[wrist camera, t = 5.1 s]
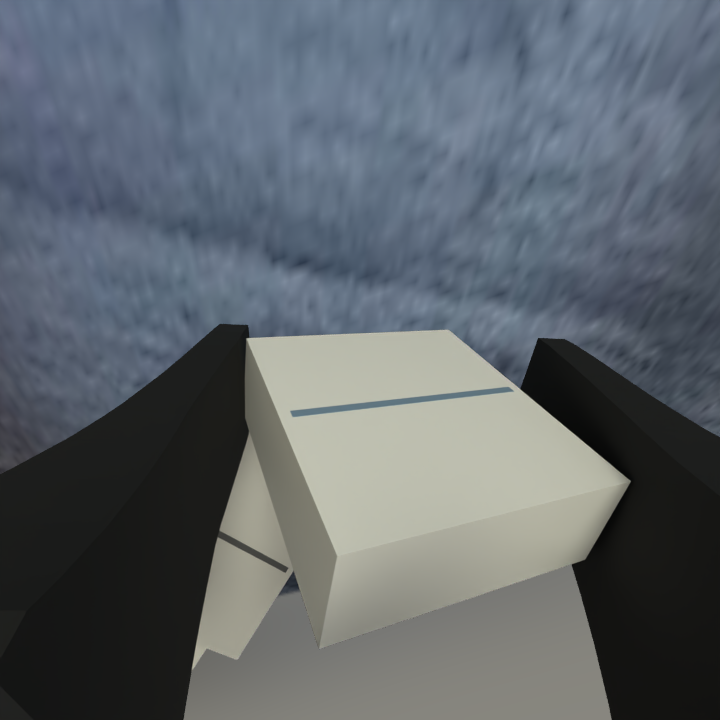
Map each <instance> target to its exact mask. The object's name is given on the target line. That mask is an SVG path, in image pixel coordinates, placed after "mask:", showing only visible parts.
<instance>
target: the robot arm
mask: <svg viewBox="0 0 720 720" xmlns="http://www.w3.org/2000/svg"><path fill="white" fill-rule="evenodd" d="M246 338H249V328H248V325H231V324H219V325H218V326H217V327H216V328H214V329H213V330H212V331H211V332H210V333H209V334H208V335H206V336H205V337H204V338H203V339H202V340H201V341H200V342H198V343H197V344H196V345H195V346H194V347H193V348H192V349H190V350H189V351H188V352H187V353H186V354H185V355H184V356H182V357H181V358H180V359H179V360H178V361H176V362H175V363H174V364H173V365H172V366H170V367H169V368H168V369H167V370H166V371H165V372H163V373H162V374H161V375H160V376H158V377H157V378H156V379H154V380H153V381H152V382H150V383H149V384H148V385H146V386H145V387H144V388H142V389H141V390H140V391H138V392H137V393H136V394H134V395H133V396H132V397H130V398H129V399H128V400H126V401H125V402H124V403H122V404H121V405H119V406H118V407H117V408H115V409H114V410H112V411H111V412H109V413H108V414H106V415H105V416H103V417H102V418H100V419H98V420H97V421H95V422H94V423H92V424H90V425H89V426H87V427H86V428H84V429H82V430H81V431H79V432H77V433H76V434H74V435H72V436H71V437H69V438H67V439H66V440H64V441H62V442H60V443H58V444H56V445H55V446H53V447H51V448H49V449H47V450H45V451H43V452H42V453H40V454H38V455H36V456H34V457H32V458H30V459H29V460H27V461H25V462H23V463H21V464H19V465H17V466H16V467H14V468H12V469H10V470H8V471H6V472H4V473H2V474H0V720H183V719H184V713H185V706H186V700H187V695H188V689H189V683H190V677H191V671H192V666H193V660H194V654H195V648H196V642H197V637H198V632H199V626H200V621H201V616H202V611H203V605H204V600H205V595H206V589H207V585H208V580H209V575H210V570H211V565H212V560H213V555H214V550H215V545H216V542H217V538H218V534H219V530H220V526H221V523H222V520H223V517H224V513H225V510H226V507H227V504H228V501H229V497H230V494H231V491H232V488H233V484H234V481H235V478H236V475H237V472H238V468H239V465H240V462H241V459H242V455H243V452H244V449H245V446H246V442H247V439H248V435H249V429H248V425H247V422H246V419H245V359H246ZM520 390H522V391H523V392H524V393H525V394H526V395H528V396H529V397H530V398H531V399H532V400H534V401H535V402H536V403H537V404H538V405H540V406H541V407H542V408H543V409H544V410H546V411H547V412H548V413H549V414H550V415H552V416H553V417H554V418H555V419H556V420H558V421H559V422H560V423H561V424H562V425H564V426H565V427H566V428H567V429H569V430H570V431H571V432H572V433H573V434H575V435H576V436H577V437H578V438H579V439H581V440H582V441H583V442H584V443H585V444H587V445H588V446H589V447H590V448H591V449H593V450H594V451H595V452H596V453H597V454H599V455H600V456H601V457H602V458H603V459H605V460H606V461H607V462H608V463H609V464H611V465H612V466H613V467H614V468H616V469H617V470H618V471H619V472H620V473H622V474H623V475H624V476H625V477H626V478H628V479H629V480H630V481H631V482H630V484H629V486H628V487H627V489H626V491H625V492H624V494H623V496H622V498H621V499H620V501H619V503H618V504H617V506H616V508H615V510H614V511H613V513H612V515H611V516H610V518H609V520H608V522H607V523H606V525H605V527H604V528H603V530H602V532H601V533H600V535H599V537H598V539H597V540H596V542H595V544H594V545H593V547H592V549H591V551H590V552H589V554H588V556H587V557H586V559H585V560H582V561H580V562H577V563H574V564H572V567H573V570H574V574H575V577H576V581H577V584H578V587H579V590H580V594H581V597H582V601H583V605H584V608H585V612H586V615H587V619H588V622H589V627H590V630H591V634H592V638H593V641H594V645H595V649H596V653H597V657H598V662H599V666H600V670H601V674H602V678H603V683H604V686H605V691H606V695H607V699H608V703H609V708H610V713H611V718H612V720H720V437H718V436H716V435H714V434H713V433H711V432H709V431H707V430H706V429H704V428H702V427H701V426H699V425H697V424H696V423H694V422H692V421H691V420H689V419H687V418H686V417H684V416H683V415H681V414H679V413H678V412H676V411H674V410H673V409H671V408H669V407H668V406H666V405H665V404H663V403H662V402H660V401H659V400H657V399H655V398H654V397H652V396H651V395H649V394H648V393H646V392H645V391H643V390H642V389H640V388H639V387H637V386H636V385H634V384H633V383H631V382H630V381H628V380H627V379H626V378H624V377H623V376H621V375H620V374H618V373H617V372H615V371H614V370H612V369H611V368H609V367H608V366H607V365H605V364H604V363H602V362H601V361H599V360H598V359H596V358H595V357H593V356H592V355H590V354H589V353H587V352H586V351H584V350H582V349H581V348H579V347H578V346H576V345H574V344H573V343H571V342H569V341H567V340H565V339H548V338H538V340H537V343H536V346H535V349H534V352H533V354H532V357H531V360H530V363H529V366H528V369H527V372H526V375H525V377H524V380H523V383H522V386H521V389H520Z"/></svg>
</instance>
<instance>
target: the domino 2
mask: <svg viewBox="0 0 720 720" xmlns="http://www.w3.org/2000/svg"><path fill="white" fill-rule="evenodd" d="M245 419H246V422H247V425H248V429H249V432H250V435H251V438H252V441H253V444H254V447H255V451H256V454H257V457H258V460H259V463H260V466H261V469H262V473H263V476H264V479H265V482H266V485H267V488H268V491H269V495H270V498H271V501H272V504H273V507H274V510H275V513H276V517H277V520H278V523H279V526H280V529H281V532H282V535H283V539H284V542H285V545H286V548H287V551H288V554H289V557H290V561H291V564H292V567H293V570H294V573H295V576H296V579H297V583H298V586H299V589H300V592H301V595H302V598H303V601H304V604H305V608H306V611H307V614H308V617H309V620H310V623H311V626H312V629H313V633H314V636H315V639H316V642H317V645H318V648H319V649H322V648H325V647H328V646H331V645H334V644H337V643H340V642H343V641H346V640H348V639H352V638H354V637H357V636H360V635H363V634H366V633H369V632H372V631H375V630H378V629H381V628H384V627H387V626H390V625H393V624H396V623H399V622H402V621H405V620H408V619H411V618H414V617H417V616H420V615H423V614H426V613H429V612H431V611H434V610H437V609H440V608H443V607H446V606H449V605H452V604H455V603H458V602H461V601H464V600H467V599H470V598H473V597H476V596H479V595H482V594H485V593H488V592H491V591H494V590H497V589H499V588H502V587H505V586H508V585H511V584H514V583H517V582H520V581H523V580H526V579H529V578H532V577H535V576H538V575H541V574H544V573H546V572H550V571H553V570H556V569H559V568H562V567H564V566H567V565H571V564H574V563H577V562H580V561H582V560H585V559H586V557H587V556H588V554H589V552H590V551H591V549H592V547H593V545H594V544H595V542H596V540H597V539H598V537H599V535H600V533H601V532H602V530H603V528H604V527H605V525H606V523H607V522H608V520H609V518H610V516H611V515H612V513H613V511H614V510H615V508H616V506H617V504H618V503H619V501H620V499H621V498H622V496H623V494H624V492H625V491H626V489H627V487H628V486H629V484H630V482H631V481H630V480H629V479H628V478H626V477H625V476H624V475H623V474H622V473H620V472H619V471H618V470H617V469H616V468H614V467H613V466H612V465H611V464H609V463H608V462H607V461H606V460H605V459H603V458H602V457H601V456H600V455H599V454H597V453H596V452H595V451H594V450H593V449H591V448H590V447H589V446H588V445H587V444H585V443H584V442H583V441H582V440H581V439H579V438H578V437H577V436H576V435H575V434H573V433H572V432H571V431H570V430H569V429H567V428H566V427H565V426H564V425H562V424H561V423H560V422H559V421H558V420H556V419H555V418H554V417H553V416H552V415H550V414H549V413H548V412H547V411H546V410H544V409H543V408H542V407H541V406H540V405H538V404H537V403H536V402H535V401H534V400H532V399H531V398H530V397H529V396H528V395H526V394H525V393H524V392H523V391H522V390H520V389H519V388H518V387H517V386H516V385H514V384H513V383H512V382H511V381H509V380H508V379H507V378H506V377H505V376H503V375H502V374H501V373H500V372H499V371H497V370H496V369H495V368H494V367H493V366H491V365H490V364H489V363H488V362H487V361H485V360H484V359H483V358H482V357H481V356H479V355H478V354H477V353H476V352H475V351H473V350H472V349H471V348H470V347H469V346H467V345H466V344H465V343H464V342H463V341H461V340H460V339H459V338H458V337H456V336H455V335H454V334H453V333H452V332H450V331H449V330H431V331H407V332H383V333H359V334H335V335H311V336H287V337H263V338H246V359H245Z"/></svg>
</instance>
